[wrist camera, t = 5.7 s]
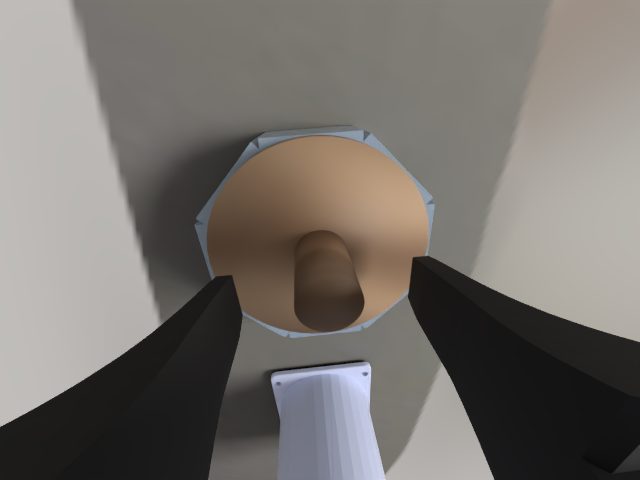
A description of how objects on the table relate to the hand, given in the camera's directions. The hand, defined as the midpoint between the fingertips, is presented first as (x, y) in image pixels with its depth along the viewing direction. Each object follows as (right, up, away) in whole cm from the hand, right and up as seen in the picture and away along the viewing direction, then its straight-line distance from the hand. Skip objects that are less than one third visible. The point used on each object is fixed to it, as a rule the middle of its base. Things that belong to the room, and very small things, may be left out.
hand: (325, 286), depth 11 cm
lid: (0, +2, +2) cm, 3 cm away
